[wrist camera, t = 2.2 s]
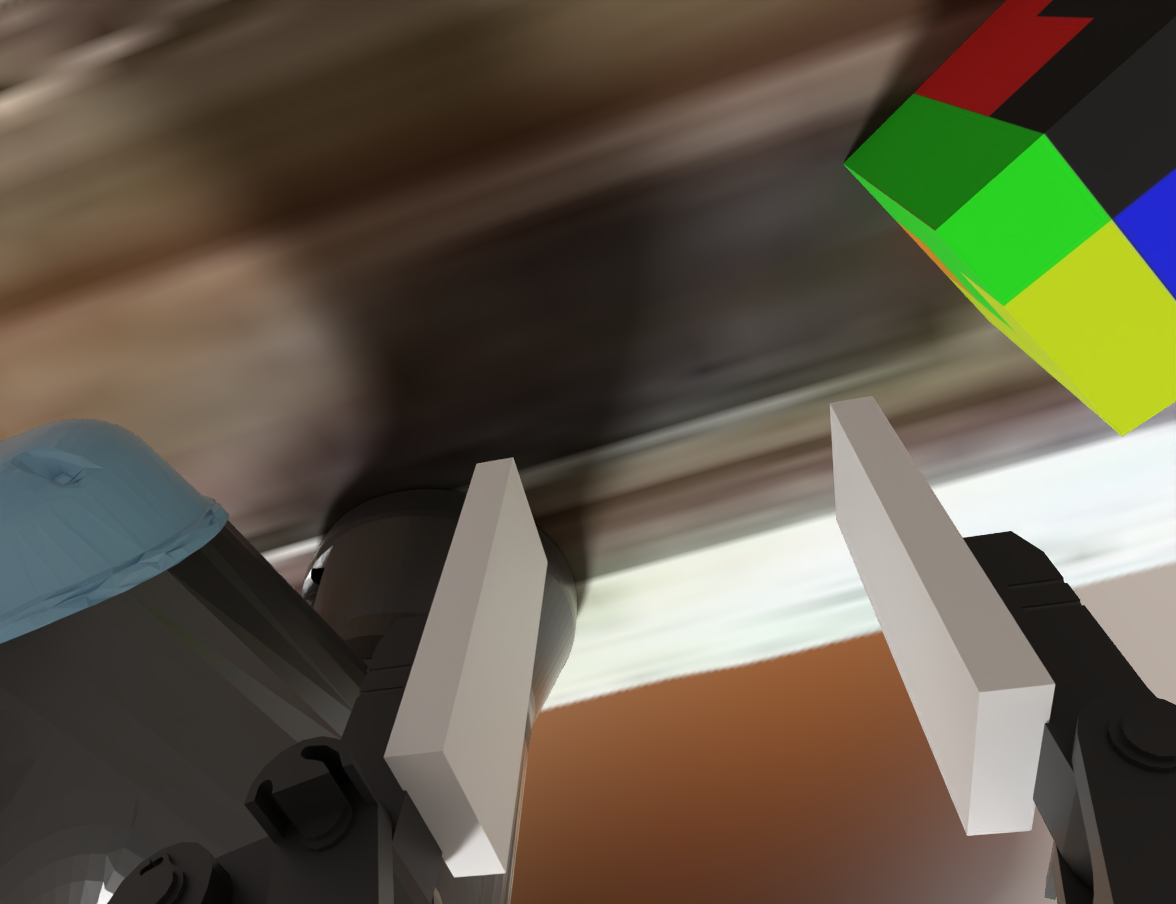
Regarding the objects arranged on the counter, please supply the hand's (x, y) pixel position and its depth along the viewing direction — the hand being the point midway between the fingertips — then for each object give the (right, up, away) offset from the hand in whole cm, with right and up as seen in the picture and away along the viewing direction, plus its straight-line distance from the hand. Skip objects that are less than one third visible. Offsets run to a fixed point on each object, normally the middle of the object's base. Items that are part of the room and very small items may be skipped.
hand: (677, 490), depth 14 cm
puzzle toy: (+15, +13, +14) cm, 24 cm away
